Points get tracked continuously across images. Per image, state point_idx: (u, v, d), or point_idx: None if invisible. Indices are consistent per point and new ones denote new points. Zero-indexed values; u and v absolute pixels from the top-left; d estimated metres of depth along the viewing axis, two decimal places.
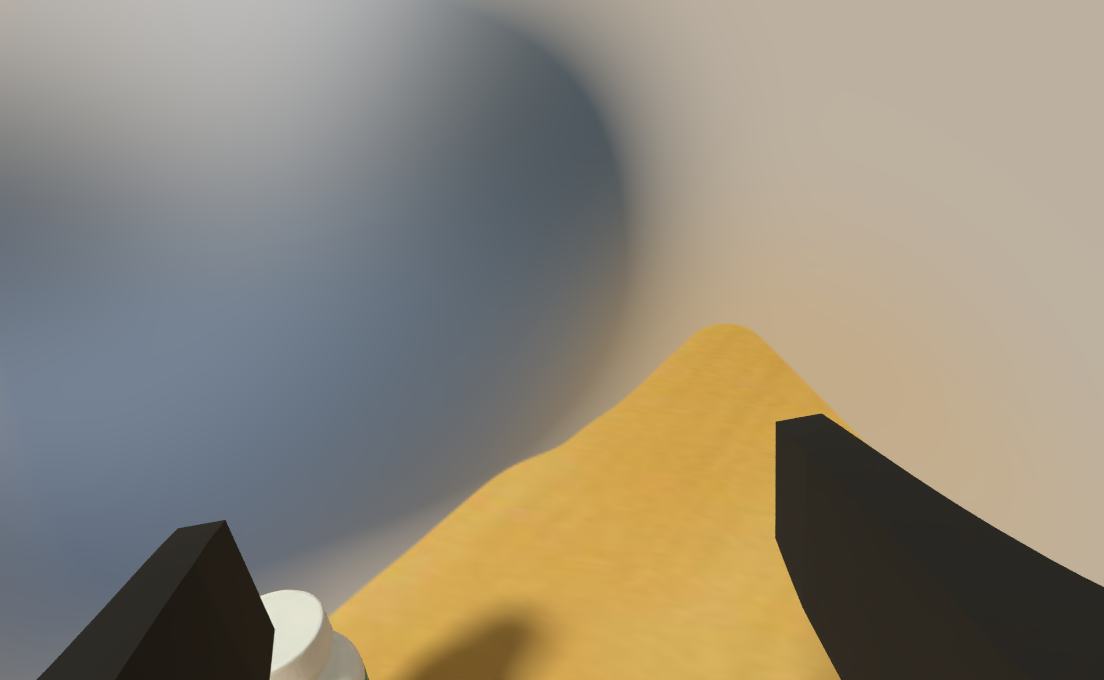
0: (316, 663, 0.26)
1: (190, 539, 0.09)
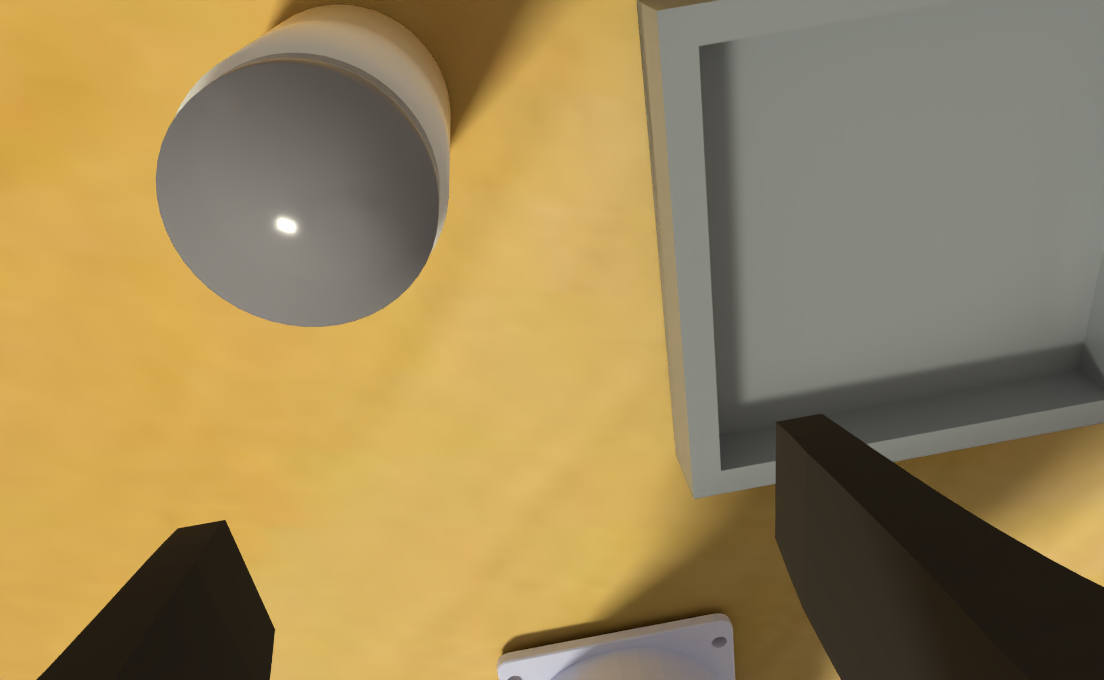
0: None
1: (190, 538, 0.09)
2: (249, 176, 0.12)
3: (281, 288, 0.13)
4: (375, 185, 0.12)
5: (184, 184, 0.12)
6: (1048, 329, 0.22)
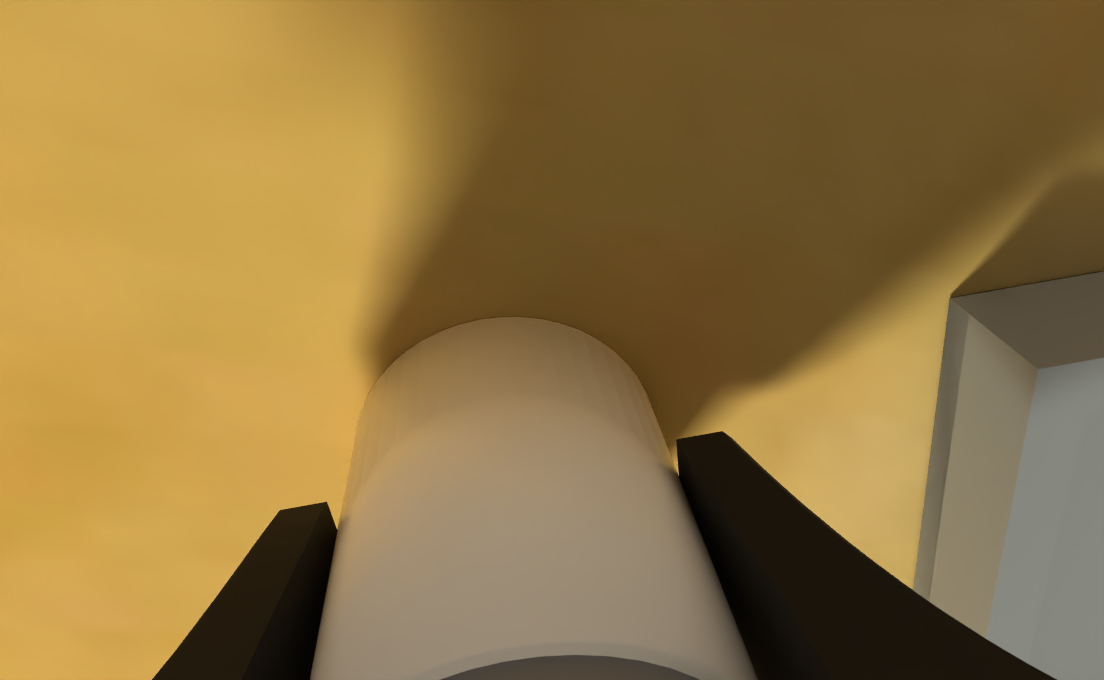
0: None
1: (296, 519, 0.09)
2: None
3: None
4: None
5: None
6: None
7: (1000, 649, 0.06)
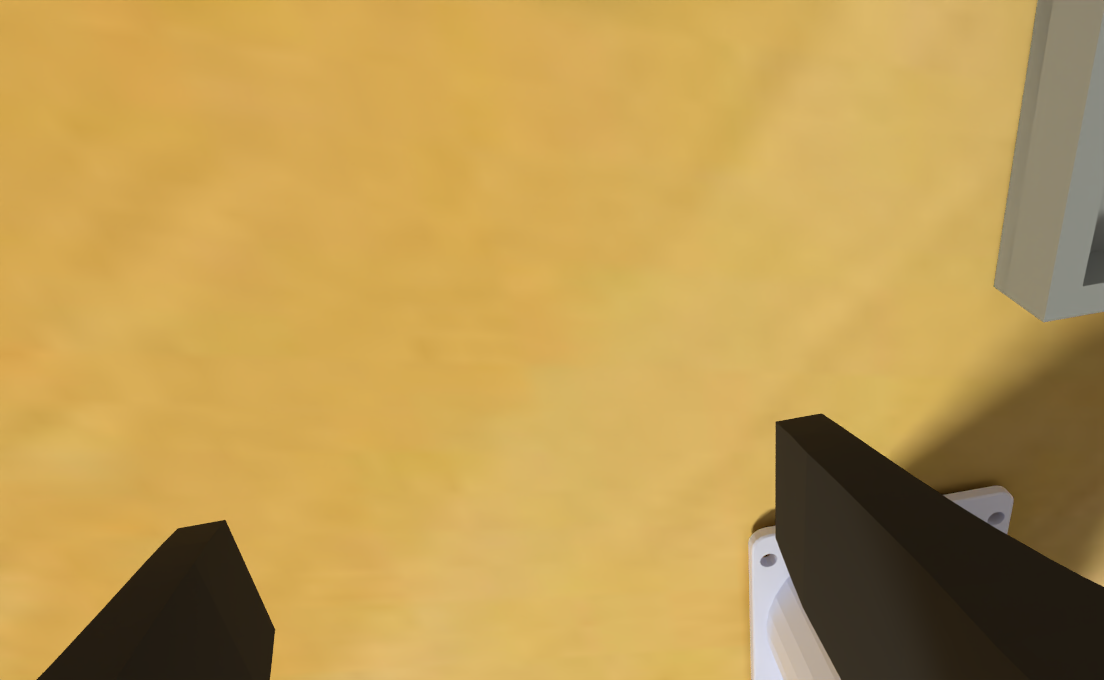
0: None
1: (190, 537, 0.09)
2: None
3: None
4: None
5: None
6: None
7: None
